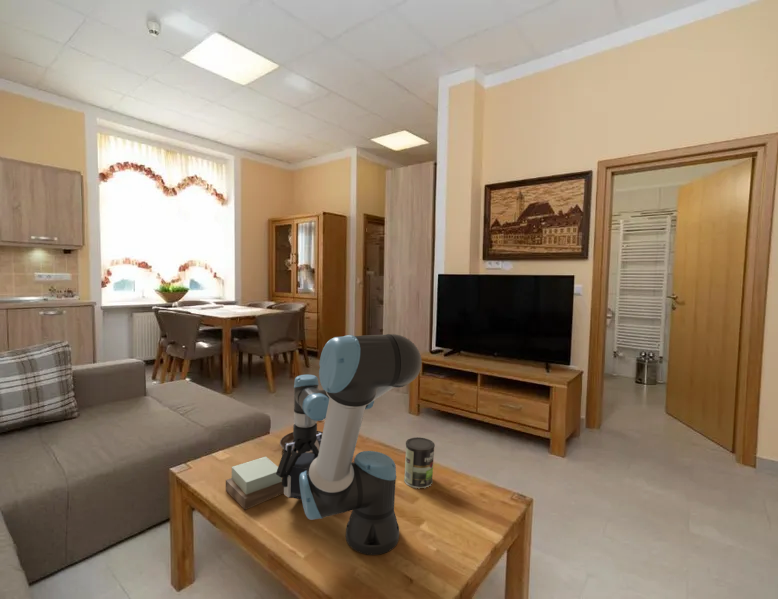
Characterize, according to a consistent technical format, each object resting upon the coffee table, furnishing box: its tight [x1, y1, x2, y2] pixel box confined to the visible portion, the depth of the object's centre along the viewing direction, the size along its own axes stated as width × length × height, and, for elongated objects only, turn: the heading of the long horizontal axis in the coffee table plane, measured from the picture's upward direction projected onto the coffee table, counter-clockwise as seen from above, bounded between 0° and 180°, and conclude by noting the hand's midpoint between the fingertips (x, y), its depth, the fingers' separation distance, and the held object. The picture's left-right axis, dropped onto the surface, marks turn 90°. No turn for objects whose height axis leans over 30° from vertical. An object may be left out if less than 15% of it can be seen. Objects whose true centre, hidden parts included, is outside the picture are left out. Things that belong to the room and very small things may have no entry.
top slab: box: [231, 455, 282, 495], centre depth 130 cm, size 12×12×4 cm
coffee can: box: [403, 437, 436, 490], centre depth 140 cm, size 10×10×14 cm
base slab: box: [225, 477, 284, 510], centre depth 130 cm, size 14×14×4 cm
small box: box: [289, 452, 318, 501], centre depth 127 cm, size 11×6×10 cm, turn 168°
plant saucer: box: [279, 430, 323, 454], centre depth 162 cm, size 21×21×3 cm
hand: (303, 488), depth 127 cm, fingers closed on small box, 12 cm apart
